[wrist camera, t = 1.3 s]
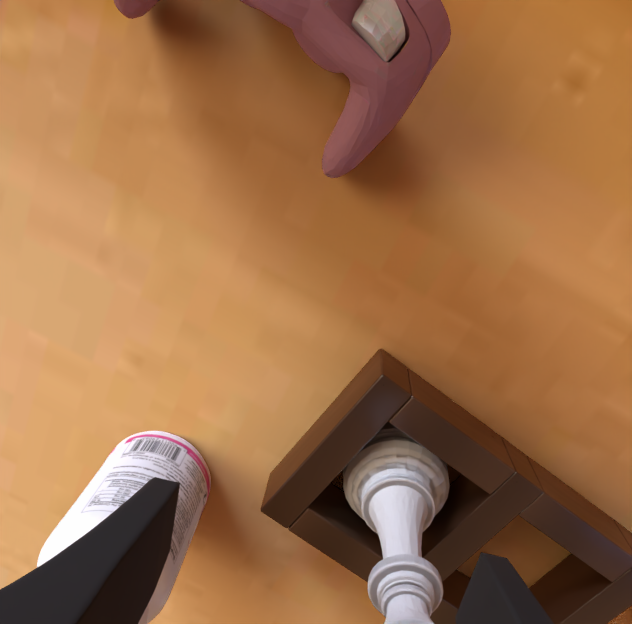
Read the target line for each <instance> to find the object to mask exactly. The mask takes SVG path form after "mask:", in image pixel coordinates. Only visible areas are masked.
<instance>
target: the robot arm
mask: <svg viewBox="0 0 632 624" xmlns="http://www.w3.org/2000/svg"><path fill="white" fill-rule="evenodd" d="M179 488H180V483H179V482H174V481H170V480H166V479H161V478H157V477H154V478H152V479H151V480H149V481H148V482H147V483H146V484H145V485H144V486H143V487H142V488H141V489H139V490H138V491H137V492H136V493H135V494H134V495H133V496H132V497H130V498H129V499H128V500H127V501H126V502H125V503H123V504H122V505H121V506H120V507H119V508H118V509H116V510H115V511H114V512H113V513H112V514H110V515H109V516H108V517H107V518H105V519H104V520H103V521H102V522H100V523H99V524H98V525H96V526H95V527H94V528H93V529H91V530H90V531H89V532H88V533H86V534H85V535H84V536H82V537H81V538H79V539H78V540H77V541H75V542H74V543H72V544H71V545H70V546H68V547H67V548H65V549H64V550H63V551H61V552H60V553H58V554H57V555H56V556H54V557H53V558H51V559H50V560H48V561H47V562H45V563H44V564H42V565H41V566H39V567H37V568H36V569H34V570H33V571H31V572H30V573H28V574H26V575H25V576H23V577H21V578H20V579H18V580H16V581H15V582H13V583H11V584H10V585H8V586H6V587H4V588H2V589H1V590H0V624H138V623H139V621H140V619H141V617H142V615H143V613H144V611H145V609H146V607H147V605H148V603H149V601H150V599H151V597H152V595H153V593H154V591H155V588H156V586H157V583H158V581H159V578H160V576H161V573H162V570H163V568H164V565H165V562H166V560H167V557H168V554H169V552H170V547H171V540H172V534H173V527H174V520H175V514H176V507H177V501H178V494H179ZM455 619H456V624H554V623H553V621H552V620H551V619H550V617H549V616H548V615H547V613H546V612H545V610H544V609H543V608H542V606H541V605H540V603H539V602H538V601H537V599H536V598H535V596H534V595H533V594H532V592H531V591H530V589H529V588H528V587H527V585H526V584H525V582H524V581H523V580H522V578H521V577H520V575H519V574H518V573H517V571H516V570H515V568H514V567H513V566H512V564H511V563H510V562H509V560H508V559H507V558H504V557H499V556H495V555H491V554H486V553H482V552H481V554H480V556H479V559H478V561H477V564H476V566H475V569H474V572H473V574H472V577H471V579H470V582H469V584H468V587H467V589H466V592H465V594H464V597H463V599H462V602H461V604H460V607H459V609H458V612H457V614H456V617H455Z"/></svg>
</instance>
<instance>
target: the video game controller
mask: <svg viewBox="0 0 632 624" xmlns="http://www.w3.org/2000/svg"><path fill="white" fill-rule="evenodd" d="M158 1H159V0H114V3H115V5H116V7H117V8H118V10H119V11H120V12H121V13H122V14H123V15H125V16H126V17H128V18H132V19H133V18H137V17H140V16H143V15H144V14H145V13H147V12H148V11H149V10H150V9H151V8H152V7H153V6H154V5H155V4H156V3H157V2H158ZM240 1H242V2H243V3H245V4H247V5H249V6H251V7H253V8H256V9H259V10H261V11H263V12H264V13H266V14H267V15H269V16H271V17H272V18H274V19H275V20H277V21H279V22H280V23H282V24H284V25H286V26H288V27H289V28H291V29H292V30H293V34H294V36H295V38H296V40H297V42H298V43H299V45H300V46H301V48H302V49H303V51H304V52H305V53H306V54H307V55H308V56H309V57H310V58H311V59H312V60H313V61H314V62H315V63H316V64H318V65H319V66H321V67H322V68H323V69H326V70H328V71H331V72H334V73H342V72H343V73H344V74H345V75H346V76H347V77H348V78H349V81H350V91H349V95H348V98H347V101H346V104H345V107H344V110H343V112H342V114H341V116H340V118H339V120H338V122H337V124H336V125H335V127H334V129H333V131H332V133H331V135H330V137H329V139H328V141H327V143H326V145H325V149H324V153H323V158H322V169H323V172H324V174H325V175H326V176H328V177H330V178H335V177H340V176H342V175H344V174H346V173H348V172H349V171H351V170H352V169H353V168H355V167H356V166H357V165H358V164H359V163H360V162H361V161H362V160H363V159H364V158H365V157H366V156H367V155H368V154H369V153H370V152H371V151H372V150H373V149H374V148H375V147H376V146H377V145H378V144H379V143H380V142H381V141H382V140H383V139H384V138H385V137H386V135H387V134H388V133H389V132H390V131H391V130H392V129H393V128H394V127H395V126H396V124H397V123H398V121H399V120H400V119H401V117H402V116H403V114H404V113H405V111H406V110H407V109H408V107H409V105H410V104H411V102H412V100H413V99H414V97H415V96H416V94H417V93H418V91H419V90H420V88H421V86H422V85H423V83H424V82H425V80H426V78H427V76H428V75H429V73H430V71H431V70H432V68H433V67H434V65H435V64H436V62H437V61H438V59H439V58H440V56H441V55H442V53H443V52H444V50H445V49H446V48H447V46H448V44H449V42H450V35H451V29H450V23H449V19H448V15H447V13H446V10H445V8H444V6H443V4H442V2H441V0H240Z"/></svg>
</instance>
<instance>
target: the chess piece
mask: <svg viewBox="0 0 632 624" xmlns="http://www.w3.org/2000/svg"><path fill="white" fill-rule="evenodd" d="M343 479H344V482H343V488H344V492H345V497H346V499H347V501H348V503H349V505H350V506H351V508H352V509H353V510H354V511H355V512H356V513H357V514H358V515H359V516H360V517H361V518H362V519H363V520H365V522H366V524H367V525H368V526H369V527H370V528H371V529H372V530H373V531H374V532H376V533H377V534H378V536H379V539H380V543H381V548H382V554H383V560H381V561H379V562H378V563H377V564H376V565H375V566H374V567H373V568H372V570H371V573H370V575H369V577H368V594H369V598H370V600H371V602H372V604H373V606H374V607H375V608H376V609H377V610H378V611H379V612H380V613H382V614H383V615H384V616H385V618H386V620H385V622H384V624H434V623H433V622H432V620H431V619H430V616H431V614H432V613H433V612H434V611H435V610H436V609H437V608H438V606H439V604H440V603H441V601H442V597H443V585H442V579H441V576H440V574H439V572H438V570H437V569H436V568H435V567H434V566H433V565H432V564H431V563H430V562H429V561H427V560H425V559H424V558H422V552H421V544H422V532H423V531H425V530H426V529H427V528H428V527H429V525H430V524H431V522H432V520H433V518H434V516H435V515H436V514H437V513H438V512H439V511H440V510H441V509H442V507H443V505H444V504H445V502H446V500H447V498H448V493H449V487H450V484H449V477H448V469H447V463H445V462H444V461H443V460H441V459H440V458H438V457H437V456H436V455H434V454H433V453H431V452H430V451H429V450H427V449H426V448H424V447H423V446H422V445H420V444H419V443H417V442H416V441H415V440H413V439H412V438H410V437H409V436H408V435H406V434H405V433H403V432H402V431H401V430H399V429H398V428H397V427H395V426H394V425H392V424H391V423H390V422H387V423H386V424H385V425H384V426H383V427H382V428H381V429H380V430H379V431H378V432H377V434H376V435H375V436H374V437H373V438H372V439H371V440H370V441H369V442H368V443H367V444H366V445H365V446H364V447H363V448H362V450H361V451H360V452H359V453H358V454H357V455H356V456H355V457H354V458H353V459H352V460H351V461H350V462H349V463H348V464H347V466H346V467H345V468H344V469H343Z"/></svg>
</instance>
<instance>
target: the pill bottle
mask: <svg viewBox="0 0 632 624" xmlns="http://www.w3.org/2000/svg"><path fill="white" fill-rule="evenodd" d="M154 477H157V478H161V479H166V480H170V481H174V482H179V483H180V488H179V494H178V501H177V507H176V514H175V520H174V527H173V534H172V540H171V547H170V552H169V554H168V557H167V560H166V562H165V565H164V568H163V570H162V573H161V576H160V578H159V581H158V583H157V586H156V588H155V591H154V593H153V595H152V597H151V599H150V601H149V603H148V605H147V607H146V609H145V611H144V613H143V615H142V617H141V619H140V621H139V623H138V624H147V623H149V622H150V621H151V620H153V619H154V618H155V617H156V616H157V615H158V614H159V613H160V611H161V610H162V608H163V607H164V605H165V603H166V601H167V599H168V597H169V595H170V593H171V590H172V588H173V585H174V583H175V581H176V578H177V576H178V573H179V570H180V568H181V565H182V563H183V560H184V558H185V555H186V553H187V550H188V548H189V545H190V543H191V540H192V537H193V535H194V532H195V530H196V527H197V525H198V522H199V520H200V517H201V515H202V512H203V510H204V507H205V505H206V502H207V499H208V496H209V493H210V488H211V477H210V472H209V469H208V467H207V464H206V462H205V460H204V459H203V457H202V456H201V454H200V453H199V452H198V451H197V449H196V448H195V447H194V446H192V445H191V444H190V443H189V442H187V441H186V440H184V439H183V438H181V437H179V436H176V435H174V434H170V433H167V432H162V431H146V432H141V433H137V434H134V435H132V436H130V437H128V438H126V439H124V440H123V441H122V442H120V443H119V444H118V445H117V446H116V447H115V448H114V450H113V451H112V452H111V453H110V455H109V456H108V457H107V459H106V460H105V462H104V463H103V465H102V466H101V468H100V469H99V471H98V472H97V473H96V475H95V476H94V478H93V479H92V480H91V482H90V483H89V484H88V486H87V487H86V488H85V490H84V491H83V492H82V494H81V495H80V496H79V498H78V499H77V500H76V502H75V503H74V504H73V506H72V507H71V508H70V510H69V511H68V512H67V514H66V515H65V516H64V518H63V519H62V520H61V521H60V523H59V524H58V525H57V527H56V528H55V529H54V531H53V532H52V533H51V535H50V536H49V538H48V539H47V541H46V542H45V544H44V546H43V548H42V550H41V552H40V555H39V558H38V563H37V567H39V566H41V565H42V564H44V563H45V562H47V561H48V560H50V559H51V558H53V557H54V556H56V555H57V554H58V553H60V552H61V551H63V550H64V549H65V548H67V547H68V546H70V545H71V544H72V543H74V542H75V541H77V540H78V539H79V538H81V537H82V536H84V535H85V534H86V533H88V532H89V531H90V530H91V529H93V528H94V527H95V526H96V525H98V524H99V523H100V522H102V521H103V520H104V519H105V518H107V517H108V516H109V515H110V514H112V513H113V512H114V511H115V510H116V509H118V508H119V507H120V506H121V505H122V504H123V503H125V502H126V501H127V500H128V499H129V498H130V497H132V496H133V495H134V494H135V493H136V492H137V491H138V490H139V489H141V488H142V487H143V486H144V485H145V484H146V483H147V482H148V481H149V480H151V479H152V478H154Z"/></svg>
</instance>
